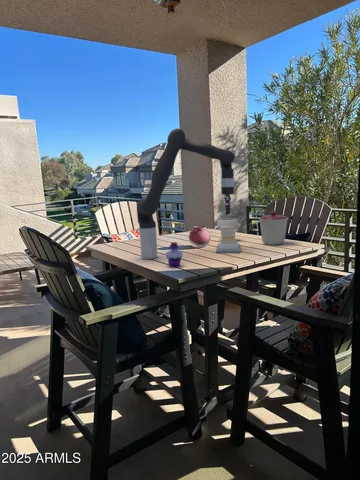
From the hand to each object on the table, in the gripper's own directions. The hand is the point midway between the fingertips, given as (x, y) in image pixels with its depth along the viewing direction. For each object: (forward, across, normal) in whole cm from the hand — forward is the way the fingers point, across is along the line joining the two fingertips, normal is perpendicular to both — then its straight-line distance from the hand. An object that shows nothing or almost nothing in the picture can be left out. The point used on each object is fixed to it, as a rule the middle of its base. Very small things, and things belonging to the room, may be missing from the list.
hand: (227, 213), depth 208 cm
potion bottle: (+22, -40, +26) cm, 52 cm away
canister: (+22, +17, -28) cm, 39 cm away
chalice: (+22, +29, +1) cm, 36 cm away
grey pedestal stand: (+22, 0, 0) cm, 22 cm away
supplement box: (+21, 0, 0) cm, 21 cm away
